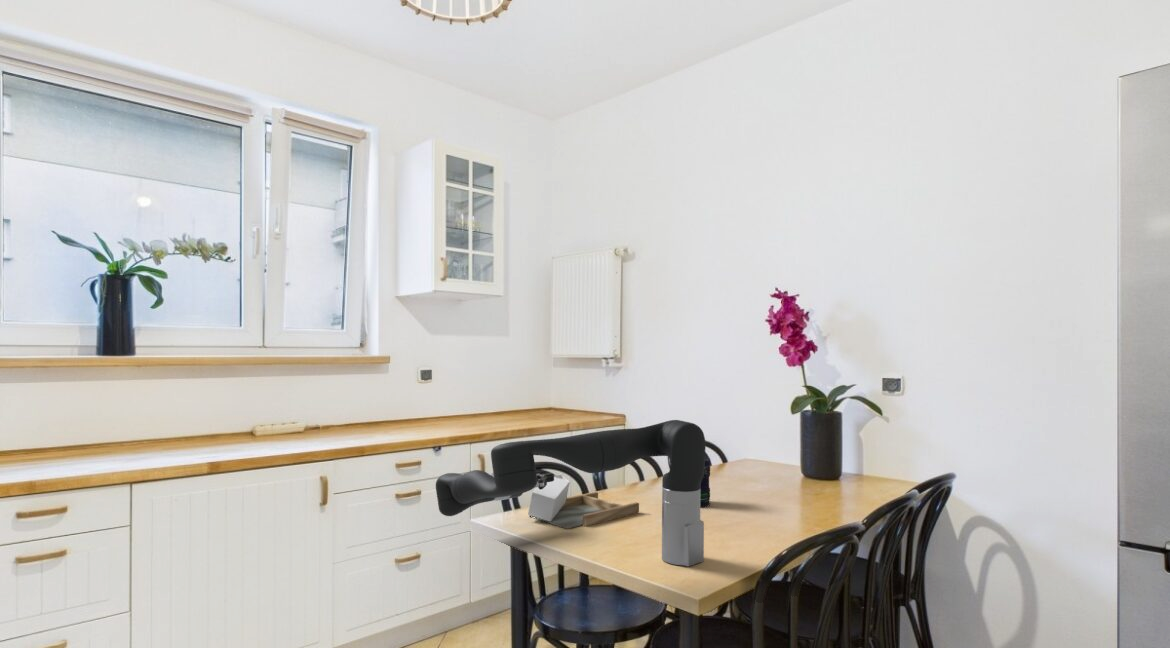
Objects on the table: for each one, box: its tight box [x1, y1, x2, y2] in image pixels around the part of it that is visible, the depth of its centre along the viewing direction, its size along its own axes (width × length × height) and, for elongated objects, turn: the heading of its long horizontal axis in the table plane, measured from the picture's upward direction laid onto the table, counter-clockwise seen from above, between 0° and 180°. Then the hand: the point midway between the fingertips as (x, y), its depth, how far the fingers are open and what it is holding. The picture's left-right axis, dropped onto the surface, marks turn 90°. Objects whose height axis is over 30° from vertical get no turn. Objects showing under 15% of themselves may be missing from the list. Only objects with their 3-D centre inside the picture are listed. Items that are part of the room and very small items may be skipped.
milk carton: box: [528, 473, 571, 522], centre depth 188 cm, size 7×7×19 cm
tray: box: [529, 491, 640, 530], centre depth 189 cm, size 19×29×3 cm
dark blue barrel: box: [700, 456, 711, 508], centre depth 204 cm, size 10×10×15 cm
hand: (552, 477), depth 181 cm, fingers closed
